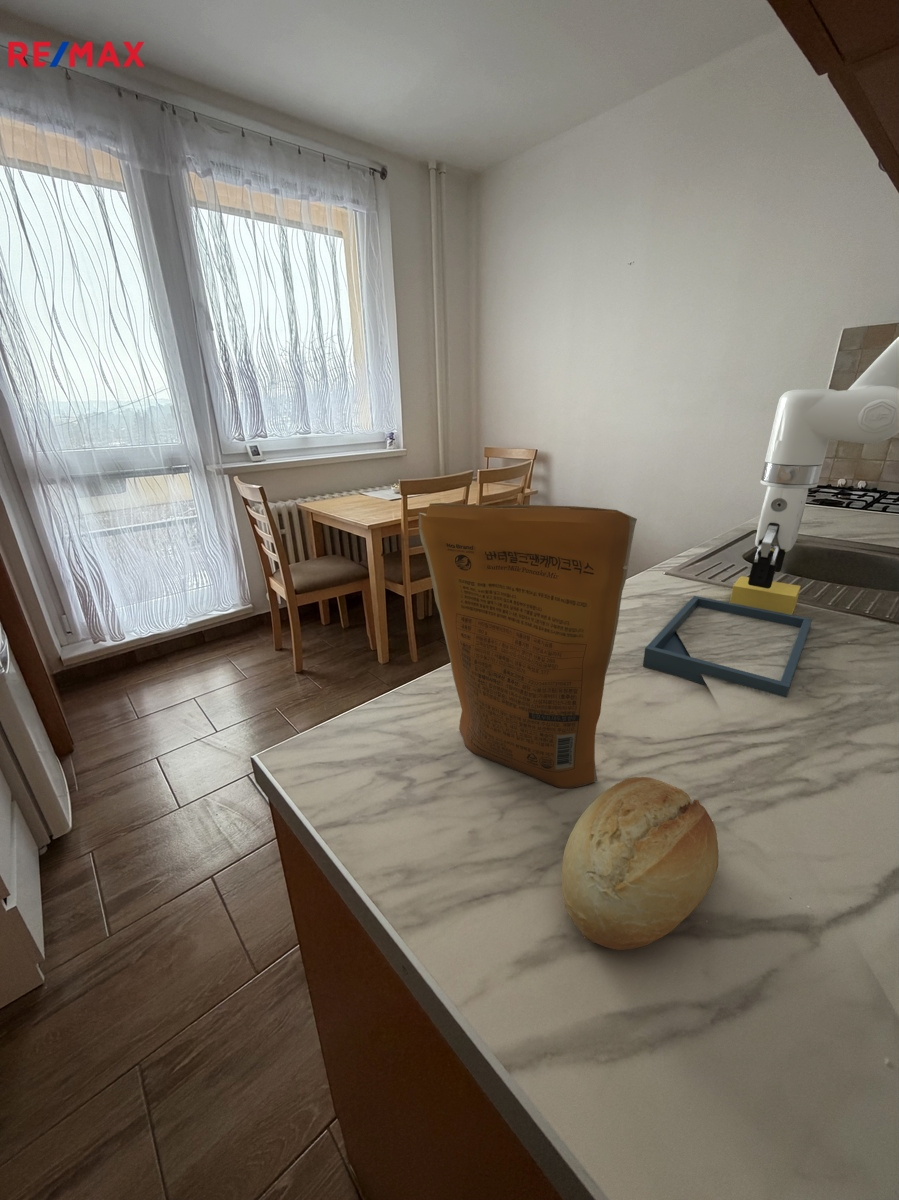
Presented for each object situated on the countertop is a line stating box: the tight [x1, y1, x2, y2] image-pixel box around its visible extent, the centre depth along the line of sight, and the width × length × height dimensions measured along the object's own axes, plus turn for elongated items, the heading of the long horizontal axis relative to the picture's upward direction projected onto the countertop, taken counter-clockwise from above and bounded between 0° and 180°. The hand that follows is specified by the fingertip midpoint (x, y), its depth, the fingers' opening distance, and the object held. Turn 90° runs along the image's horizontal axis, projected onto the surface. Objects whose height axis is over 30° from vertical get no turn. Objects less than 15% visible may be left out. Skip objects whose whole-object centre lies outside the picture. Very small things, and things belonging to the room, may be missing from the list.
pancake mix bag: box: [418, 502, 638, 789], centre depth 47 cm, size 7×19×28 cm, turn 56°
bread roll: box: [561, 776, 719, 951], centre depth 37 cm, size 10×15×8 cm, turn 135°
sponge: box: [729, 575, 802, 615], centre depth 83 cm, size 6×9×5 cm, turn 50°
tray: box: [642, 595, 813, 698], centre depth 72 cm, size 24×17×3 cm
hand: (764, 578), depth 82 cm, fingers open, 9 cm apart
